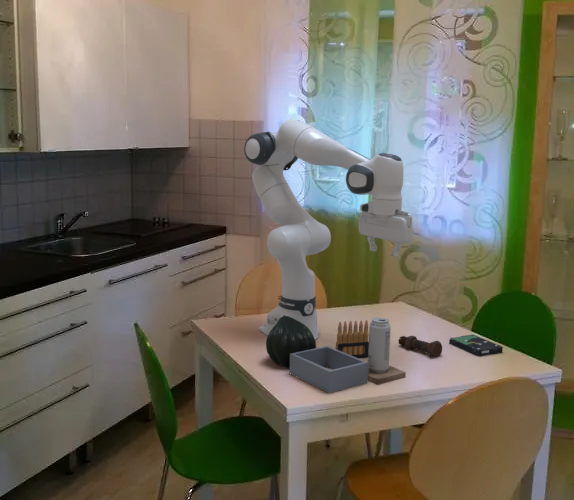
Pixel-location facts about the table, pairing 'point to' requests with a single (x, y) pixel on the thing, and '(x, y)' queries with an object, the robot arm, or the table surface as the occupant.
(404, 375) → the walnut pad
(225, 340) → the table surface
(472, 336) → the disk drive
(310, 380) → the grey rectangular open frame
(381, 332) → the energy drink can
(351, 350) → the ammunition clip
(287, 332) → the squash
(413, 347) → the bolt
